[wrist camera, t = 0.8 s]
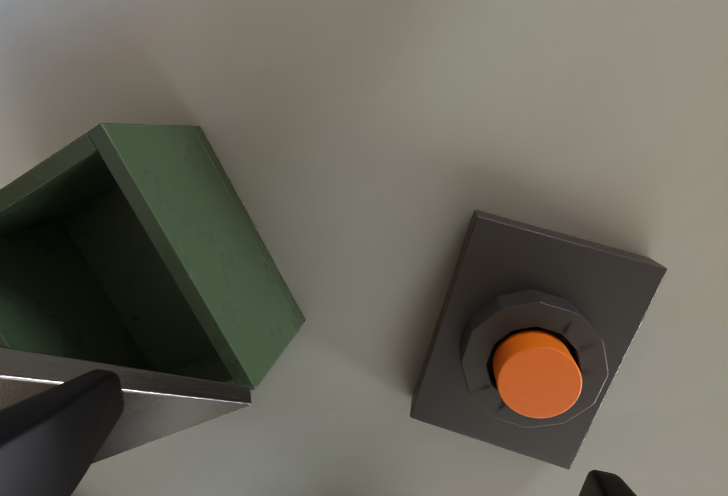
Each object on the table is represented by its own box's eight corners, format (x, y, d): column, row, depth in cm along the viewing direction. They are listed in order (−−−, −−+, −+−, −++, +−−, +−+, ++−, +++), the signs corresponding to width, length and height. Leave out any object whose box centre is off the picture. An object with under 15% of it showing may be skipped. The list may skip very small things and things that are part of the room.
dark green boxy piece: (56, 213, 27) (-79, 241, 20) (200, 125, 24) (100, 122, 17) (160, 380, 29) (71, 459, 22) (306, 320, 26) (256, 389, 19)
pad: (560, 447, 25) (579, 495, 22) (411, 398, 26) (407, 438, 23) (650, 257, 21) (688, 281, 18) (474, 209, 22) (480, 223, 19)
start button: (554, 405, 21) (564, 429, 19) (482, 383, 21) (486, 404, 20) (583, 342, 20) (596, 361, 18) (507, 319, 20) (512, 336, 19)
